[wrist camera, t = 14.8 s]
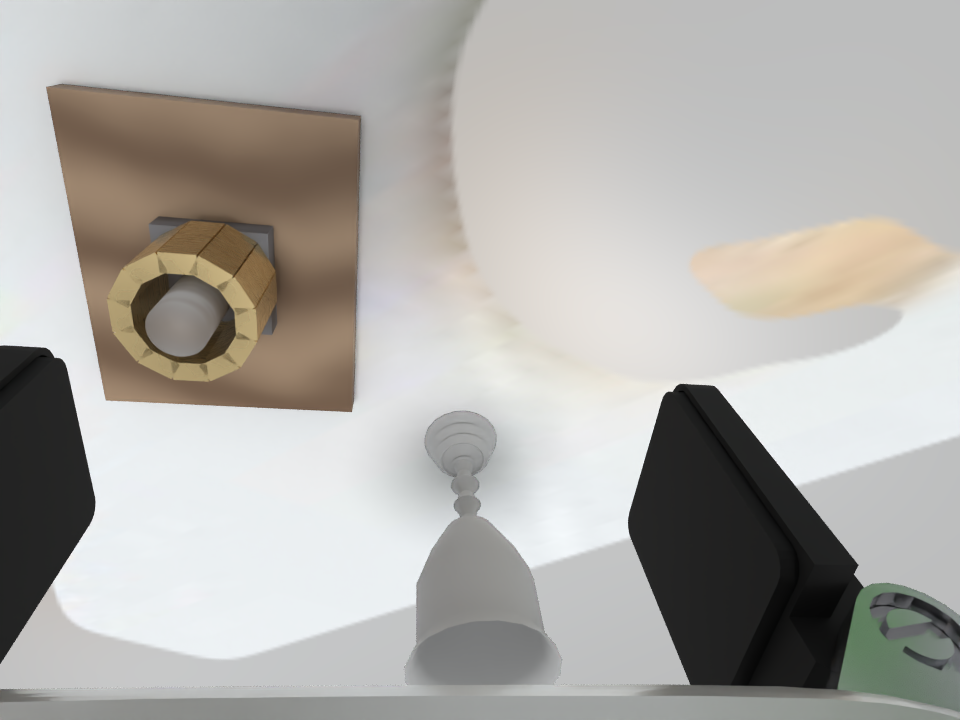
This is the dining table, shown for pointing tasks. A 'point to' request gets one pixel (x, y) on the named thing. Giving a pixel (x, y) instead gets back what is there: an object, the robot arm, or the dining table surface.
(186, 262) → the ring
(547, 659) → the chalice
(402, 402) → the dining table surface
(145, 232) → the shaft stand
